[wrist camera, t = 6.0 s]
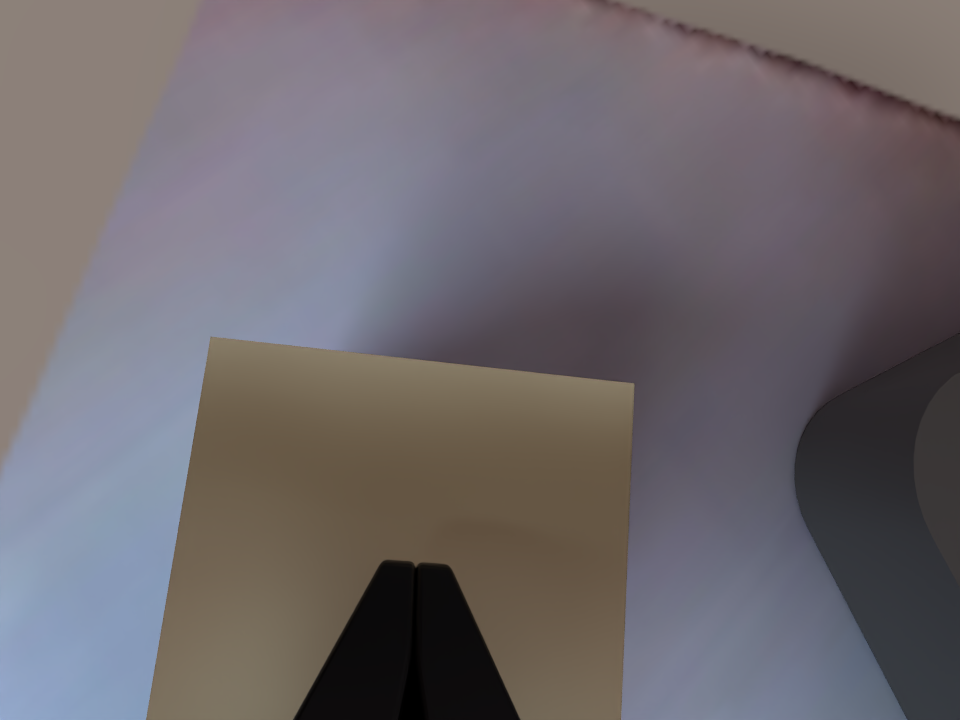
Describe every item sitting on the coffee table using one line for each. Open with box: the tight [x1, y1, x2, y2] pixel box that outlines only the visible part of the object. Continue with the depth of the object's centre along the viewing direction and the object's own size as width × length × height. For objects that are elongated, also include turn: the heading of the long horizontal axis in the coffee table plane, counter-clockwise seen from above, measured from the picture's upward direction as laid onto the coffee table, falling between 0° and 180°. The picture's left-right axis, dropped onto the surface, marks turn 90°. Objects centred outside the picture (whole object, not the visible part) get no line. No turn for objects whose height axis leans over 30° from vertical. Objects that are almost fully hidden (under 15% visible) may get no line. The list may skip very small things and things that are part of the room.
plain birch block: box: [146, 337, 634, 720], centre depth 14 cm, size 6×6×10 cm
